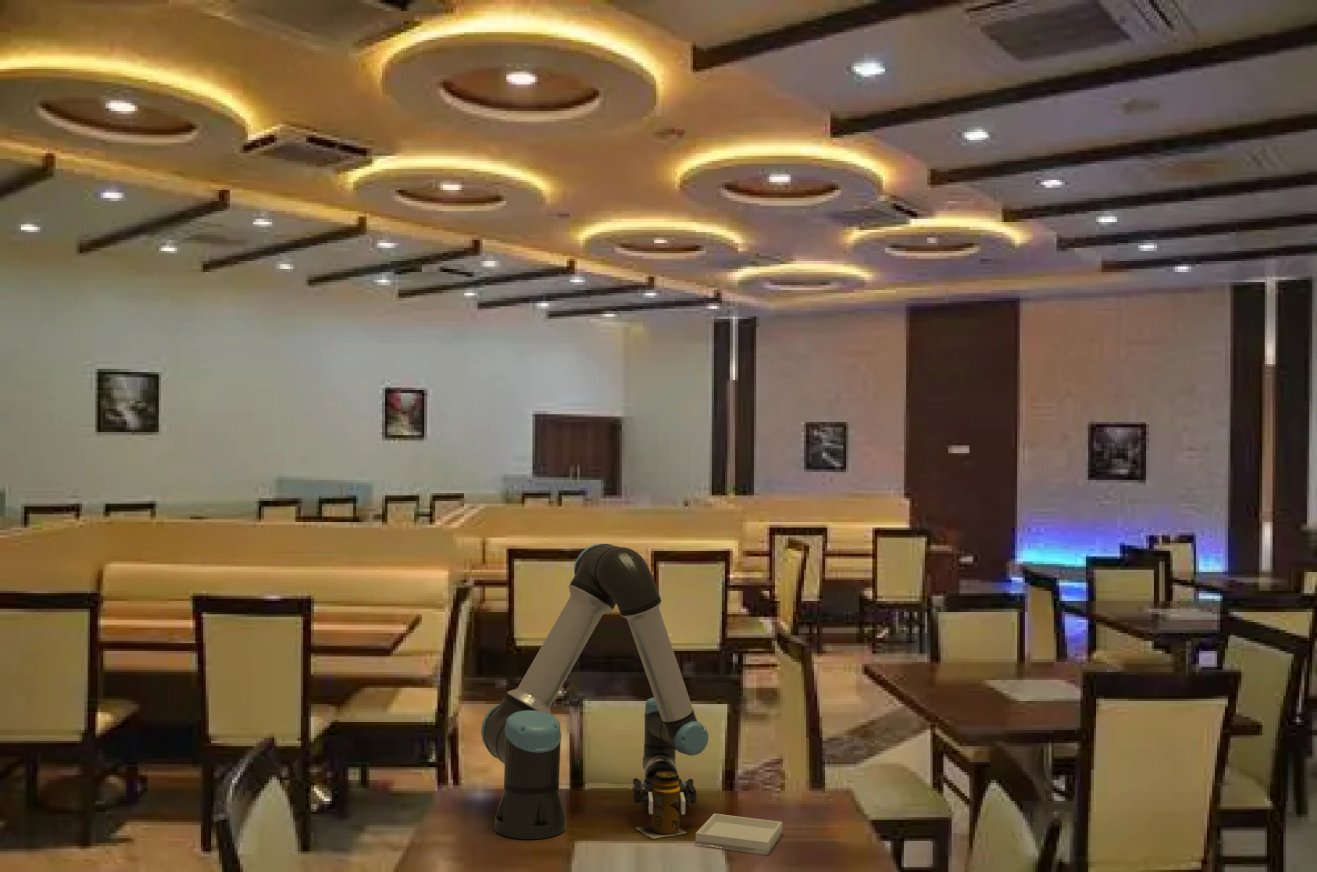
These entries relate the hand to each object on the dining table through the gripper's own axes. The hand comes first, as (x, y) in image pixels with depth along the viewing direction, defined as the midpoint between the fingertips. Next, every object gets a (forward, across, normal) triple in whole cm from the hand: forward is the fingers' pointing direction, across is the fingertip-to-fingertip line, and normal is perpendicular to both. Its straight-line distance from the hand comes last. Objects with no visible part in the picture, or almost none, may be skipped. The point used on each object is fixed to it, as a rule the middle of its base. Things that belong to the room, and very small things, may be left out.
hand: (667, 807), depth 228 cm
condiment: (-5, +1, -7) cm, 8 cm away
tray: (0, -15, -6) cm, 17 cm away
